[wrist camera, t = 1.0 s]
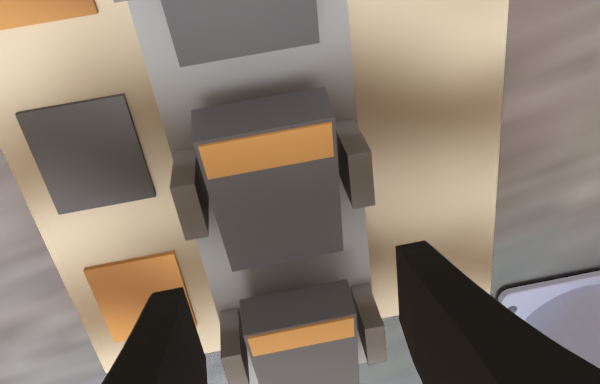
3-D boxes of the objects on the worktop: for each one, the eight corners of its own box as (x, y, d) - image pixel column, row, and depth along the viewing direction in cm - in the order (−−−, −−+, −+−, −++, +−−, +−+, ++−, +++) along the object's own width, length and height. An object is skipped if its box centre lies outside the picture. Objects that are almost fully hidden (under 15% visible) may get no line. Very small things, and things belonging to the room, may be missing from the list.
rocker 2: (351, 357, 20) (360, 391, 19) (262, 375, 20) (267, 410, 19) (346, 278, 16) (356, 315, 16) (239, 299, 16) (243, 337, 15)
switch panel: (475, 274, 25) (545, 383, 19) (111, 345, 24) (84, 478, 19) (500, -284, 15) (656, -360, 9) (-126, -192, 14) (-324, -220, 9)
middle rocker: (334, 219, 17) (343, 252, 16) (229, 239, 17) (232, 274, 16) (324, 86, 13) (335, 119, 12) (190, 110, 13) (192, 144, 12)
